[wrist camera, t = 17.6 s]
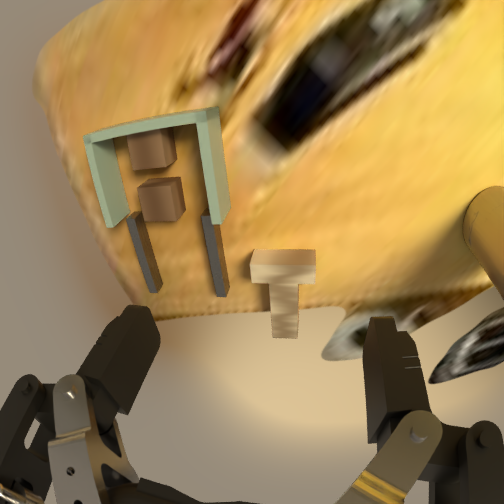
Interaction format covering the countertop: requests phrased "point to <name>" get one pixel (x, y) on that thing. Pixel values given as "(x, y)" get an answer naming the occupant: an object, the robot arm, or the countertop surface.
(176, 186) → the walnut chip
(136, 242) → the rail slot
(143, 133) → the brown block
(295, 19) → the countertop surface
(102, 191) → the tray
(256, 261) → the birch scraper
